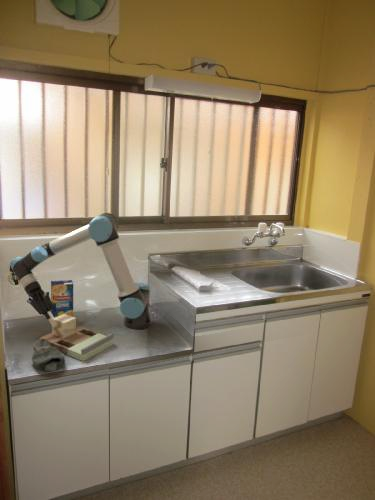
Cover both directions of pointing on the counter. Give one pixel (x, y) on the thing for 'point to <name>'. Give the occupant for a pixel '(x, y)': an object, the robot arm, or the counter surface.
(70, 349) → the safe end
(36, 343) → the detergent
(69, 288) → the beverage box
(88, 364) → the counter surface
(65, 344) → the box
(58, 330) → the birch block
